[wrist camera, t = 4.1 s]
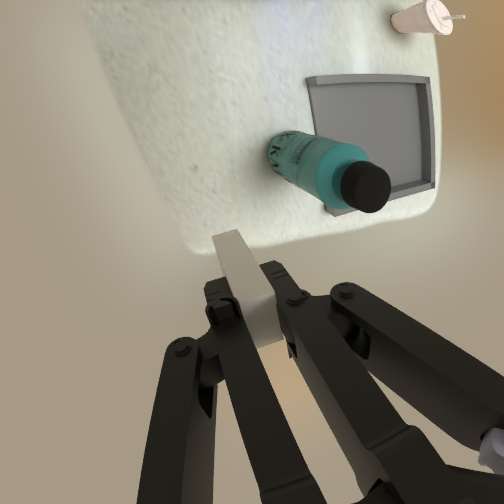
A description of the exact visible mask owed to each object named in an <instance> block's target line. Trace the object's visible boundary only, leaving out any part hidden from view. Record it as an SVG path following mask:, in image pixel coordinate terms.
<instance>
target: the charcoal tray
mask: <svg viewBox="0 0 504 504" xmlns="http://www.w3.org/2000/svg"><path fill="white" fill-rule="evenodd" d="M306 80H307V85H308V91H309V96H310V102H311V108H312V114H313V120H314V126H315V133H316V134H317V135H316V136H319V135H321V136H322V137H325V138H328V139H332V140H333V139H334V140H335V141H339V142H343V143H349V144H353V145H356V146H358V147H360V148H361V149H362V150H363V151H364V152H365V153H366V154H367V155H368V157H369V159H370V161H371V163H373V164H375V165H376V166H378V167H380V168H382V169H384V170H385V171H386V172H387V174H388V175H389V177H390V180H391V193H390V197H389V199H388V201H391V200H394V199H398V198H401V197H405V196H408V195H412V194H415V193H419V192H422V191H426V190H429V189H433V188H435V131H434V116H433V104H432V94H431V86H430V78H429V77H424V76H411V75H392V74H343V75H324V76H314V77H309V78H306ZM321 136H319V137H321ZM324 204H325V203H324ZM325 210H326V211H327V212H329V213H330V214H331V215H333V216H334V217H336V216H339V215H343V214H346V213H349V212H353V211H356V210H357V209H354V208H352V207H351V208H348V209H342V210H339V209H334V208H331V207H329V206H327V205H326V204H325Z"/></svg>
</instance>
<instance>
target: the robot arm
mask: <svg viewBox="0 0 504 504" xmlns="http://www.w3.org/2000/svg"><path fill="white" fill-rule="evenodd" d="M212 238H213V242H214V245H215V249H216V252H217V256H218V259H219V262H220V266H221V269H222V272H223V275H224V277H222V278H219V279H215V280H212V281H209V282H207V283H206V285H205V287H204V293H205V297H206V301H207V306H206V309H205V312H206V315H207V317H208V320H209V322H210V325H211V327H210V329H209V330H208V332H207V333H206V334H205V335H203V336H202V337H200V338H198V339H197V340H195V339H193V338H191V337H182V338H178V339H176V340H175V341H173V342H171V343H170V345H168V347H167V349H166V352H165V356H164V361H163V365H162V369H161V374H160V378H159V383H158V387H157V392H156V397H155V401H154V406H153V411H152V416H151V421H150V426H149V431H148V436H147V442H146V447H145V453H144V459H143V465H142V470H141V477H140V483H139V490H138V497H137V504H213V476H214V475H213V474H214V449H215V447H214V446H215V426H216V406H217V388H218V386H217V384H218V383H219V382H221V381H223V380H224V379H225V381H226V385H227V388H228V391H229V395H230V399H231V402H232V405H233V409H234V412H235V416H236V419H237V422H238V426H239V429H240V432H241V435H242V438H243V442H244V445H245V448H246V451H247V454H248V457H249V460H250V463H251V466H252V469H253V472H254V475H255V478H256V481H257V483H258V487H259V490H260V498H261V502H262V504H327V502H326V500H325V498H324V496H323V494H322V492H321V490H320V488H319V486H318V484H317V482H316V480H315V479H314V477H313V476H312V474H311V473H310V471H309V469H308V466H307V464H306V462H305V460H304V458H303V456H302V453H301V451H300V449H299V447H298V445H297V443H296V440H295V438H294V436H293V434H292V432H291V429H290V427H289V425H288V422H287V420H286V418H285V415H284V413H283V411H282V409H281V406H280V404H279V402H278V399H277V397H276V395H275V392H274V390H273V388H272V385H271V383H270V381H269V378H268V376H267V373H266V371H265V369H264V366H263V364H262V362H261V359H260V357H259V354H258V352H257V348H260V347H263V346H266V345H269V344H271V343H274V342H277V341H280V340H283V334H284V336H285V338H286V342H287V347H288V352H289V358H292V357H293V359H294V361H295V362H296V364H297V366H298V368H299V370H300V372H301V374H302V376H303V378H304V379H305V381H306V383H307V385H308V387H309V389H310V391H311V393H312V395H313V396H314V398H315V400H316V402H317V404H318V406H319V408H320V410H321V412H322V413H323V415H324V417H325V419H326V421H327V423H328V425H329V426H330V428H331V430H332V432H333V434H334V436H335V438H336V439H337V441H338V443H339V445H340V447H341V449H342V451H343V452H344V454H345V456H346V458H347V460H348V461H349V463H350V465H351V467H352V469H353V471H354V473H355V476H356V480H357V483H358V486H359V488H360V490H361V492H362V494H363V496H364V498H363V499H362V500H360V501H359V502H356V503H353V504H504V377H503V376H502V375H500V374H499V373H497V372H496V371H494V370H493V369H491V368H490V367H488V366H487V365H485V364H484V363H482V362H481V361H479V360H478V359H476V358H475V357H473V356H471V355H470V354H468V353H467V352H465V351H464V350H462V349H461V348H459V347H457V346H456V345H454V344H453V343H451V342H450V341H448V340H446V339H445V338H443V337H441V336H440V335H439V334H437V333H435V332H434V331H432V330H431V329H429V328H427V327H426V326H424V325H423V324H421V323H419V322H418V321H416V320H415V319H413V318H411V317H410V316H408V315H406V314H405V313H403V312H402V311H400V310H398V309H397V308H395V307H393V306H392V305H390V304H388V303H387V302H385V301H383V300H382V299H380V298H379V297H377V296H375V295H374V294H372V293H370V292H369V291H367V290H365V289H364V288H362V287H360V286H358V285H356V284H354V283H349V282H344V283H340V284H337V285H335V286H334V287H333V288H332V290H331V291H330V295H323V296H311V294H310V293H308V292H307V291H305V290H302V289H300V288H299V287H298V285H297V284H296V283H295V281H294V280H293V279H292V277H291V276H290V275H289V273H288V272H287V271H286V269H285V268H284V267H283V265H282V264H281V263H279V262H277V261H275V260H274V261H270V262H267V263H264V264H261V265H258V263H257V262H256V260H255V258H254V256H253V255H252V253H251V251H250V250H249V248H248V246H247V245H246V243H245V241H244V240H243V238H242V236H241V235H240V233H239V231H238V230H237V229H235V230H232V231H229V232H225V233H222V234H219V235H215V236H212ZM282 332H283V333H282ZM367 370H368V371H369V372H370V373H371V374H373V375H374V376H375V377H376V378H377V379H379V380H380V381H381V382H383V383H384V384H385V385H386V386H387V387H389V388H390V389H391V390H392V391H394V392H395V393H396V394H397V395H399V396H400V397H401V398H403V399H404V400H405V401H406V402H408V403H409V404H410V405H411V406H412V407H414V408H415V409H416V410H418V411H419V412H420V413H421V414H423V415H424V416H425V417H426V418H428V419H429V420H430V421H431V422H433V423H434V424H435V425H436V426H438V427H439V428H440V429H442V430H443V431H444V432H446V433H447V434H448V435H449V436H451V437H452V438H453V439H455V440H456V441H458V442H459V443H461V444H462V445H464V446H466V447H468V448H470V449H473V450H476V451H479V453H480V455H479V458H478V462H479V464H480V465H481V466H487V467H489V468H491V469H492V470H493V472H494V473H495V474H493V473H486V472H481V471H474V470H470V469H465V468H460V467H455V466H451V465H446V464H445V463H444V461H443V460H442V459H441V457H440V456H439V454H438V453H437V451H436V450H435V449H434V447H433V446H432V444H431V443H430V442H429V440H428V439H427V437H426V436H425V435H424V433H423V432H422V431H421V430H420V429H419V428H418V427H416V426H413V425H408V424H406V423H405V422H404V421H403V419H402V418H401V417H400V415H399V414H398V412H397V411H396V410H395V408H394V407H393V405H392V404H391V403H390V401H389V400H388V398H387V397H386V396H385V394H384V393H383V392H382V390H381V389H380V388H379V386H378V385H377V383H376V382H375V380H374V379H373V378H372V376H371V375H370V374H369V372H368V371H367Z"/></svg>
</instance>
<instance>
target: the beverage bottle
mask: <svg viewBox="0 0 504 504" xmlns="http://www.w3.org/2000/svg"><path fill="white" fill-rule="evenodd" d="M294 131H295V130H294ZM294 131H288V132H287V131H286V132H285V131H284V132H283V133H282V134H280V135H279V134H278V136H277V137H276V138H275V139H274V140H272V142H271V144H270V146H269V149H268V150H269V151H268V158H269V160H268V161H269V162H270V165H271V166H270V167H272V169H274V172H276V174H277V173H278V174H279V175H281V176H283V177H284V178H286V179H285V180H289V181H291V184H292V183H294V184H295V185H297V186H298V187H300V188H301V189H303V190H305V191H307V192H308V193H310V194H312V195H313V196H315V197H316V198H318V199H319V200H321V201H322V202H323V203H325V204H326V205H327V206H329V207H331V208H334V209H339V210H342V209H348V208H351V207H352V208H354V209H357V210H360V211H362V212H365V213H374V212H377V211H379V210H380V209H381V208H383V206H384V205H385V204H386V203H387V201H388V199H389V197H390V193H391V180H390V177H389V175H388V174H387V172H386V171H385V170H384V169H382V168H380V167H378V166H376V165H375V164H373V163H371V161H370V159H369V157H368V155H367V154H366V153H365V152H364V151H363V150H362V149H361V148H360V147H358V146H356V145H353V144H349V143H343V142H339V141H335V140H334V139H333V140H332V139H328V138H325V137H322V136H321V135H319V136H321V137H319V136H316V135H317V134H316V135H310V134H305V133H300V131H295V132H294ZM289 181H288V182H289ZM300 188H299V189H300ZM301 189H300V190H301Z"/></svg>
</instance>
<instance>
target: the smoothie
mask: <svg viewBox="0 0 504 504" xmlns="http://www.w3.org/2000/svg"><path fill="white" fill-rule="evenodd" d="M460 18H465V15H455V16H450V14H449V12H448V10H447V8H446V7H445V6H444V5H443V4H442V3H441V2H440V1H439V0H423V2H421V3H418V4H416V5H414V6H411V7H409V8H407V9H404V10H402V11H400V12H398V13H396V14H393V15H392V17H391V22H392V25H393V27H394V28H395V29H396V30H397V31H398V32H400V33H437V34H439V35H448V34H450V33H451V31H452V28H453V24H452V19H460Z"/></svg>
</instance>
